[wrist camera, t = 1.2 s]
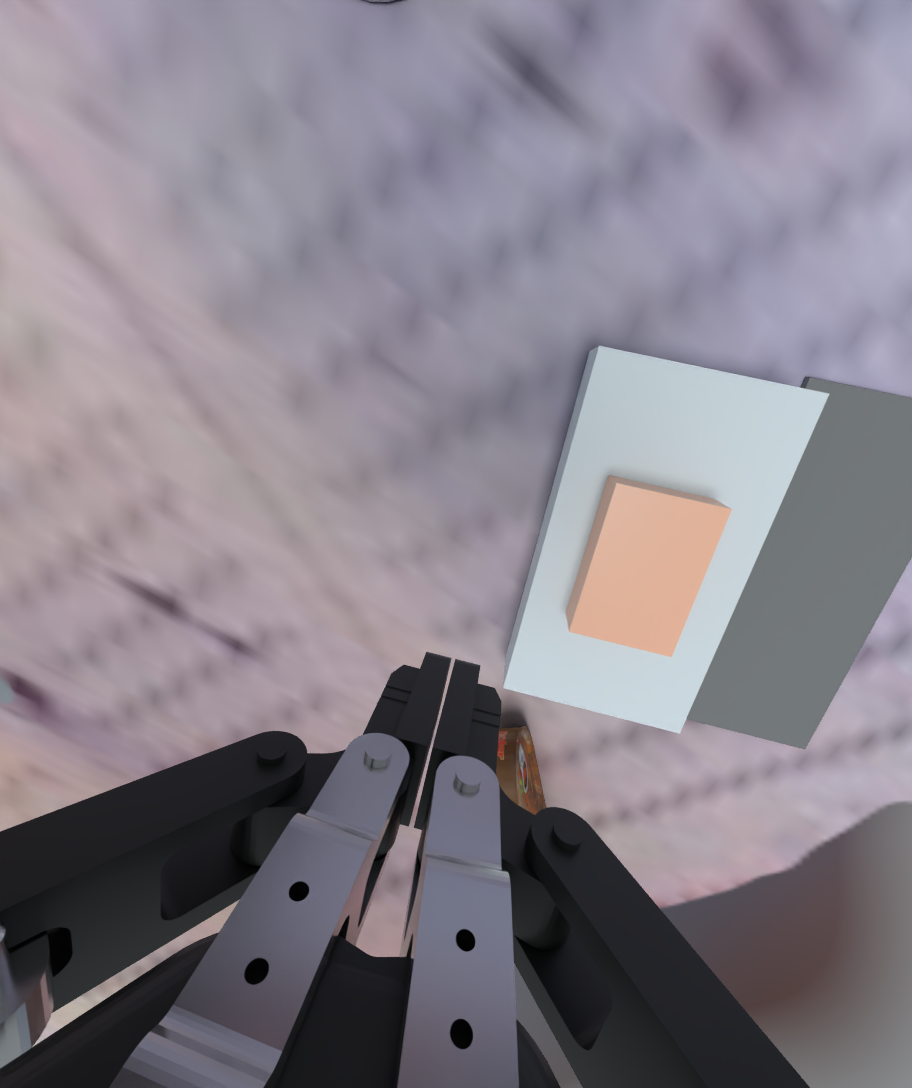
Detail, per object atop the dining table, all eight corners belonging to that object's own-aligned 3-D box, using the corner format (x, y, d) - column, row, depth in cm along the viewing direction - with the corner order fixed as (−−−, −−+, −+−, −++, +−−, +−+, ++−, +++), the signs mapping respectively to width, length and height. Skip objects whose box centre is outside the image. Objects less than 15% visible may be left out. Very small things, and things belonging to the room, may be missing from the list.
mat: (805, 377, 28) (810, 377, 28) (982, 414, 28) (990, 414, 27) (665, 709, 36) (667, 714, 36) (801, 744, 36) (805, 749, 35)
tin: (554, 849, 42) (561, 957, 34) (518, 850, 42) (516, 957, 34) (524, 701, 38) (525, 785, 30) (485, 705, 38) (475, 789, 30)
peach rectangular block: (608, 475, 28) (616, 483, 25) (713, 498, 27) (731, 509, 25) (565, 613, 31) (569, 631, 28) (660, 636, 30) (671, 657, 28)
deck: (589, 351, 29) (599, 345, 26) (789, 393, 29) (829, 393, 25) (505, 657, 37) (503, 688, 33) (663, 697, 36) (679, 733, 32)
